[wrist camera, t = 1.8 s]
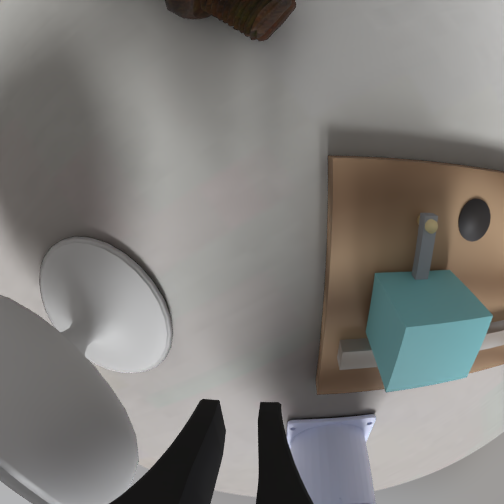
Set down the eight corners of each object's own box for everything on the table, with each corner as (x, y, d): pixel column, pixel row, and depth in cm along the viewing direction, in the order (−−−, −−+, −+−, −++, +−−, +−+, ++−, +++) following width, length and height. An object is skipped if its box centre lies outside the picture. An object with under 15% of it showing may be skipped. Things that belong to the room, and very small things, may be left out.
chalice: (224, 299, 19) (151, 544, 5) (147, 399, 24) (91, 537, 10) (55, 183, 17) (-132, 281, 3) (27, 314, 22) (-66, 417, 8)
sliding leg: (435, 325, 16) (466, 377, 12) (365, 331, 17) (385, 392, 12) (459, 212, 14) (513, 245, 9) (381, 209, 14) (422, 246, 9)
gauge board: (533, 343, 19) (545, 358, 16) (315, 380, 21) (318, 407, 19) (576, 188, 13) (596, 196, 10) (328, 155, 15) (337, 160, 12)
